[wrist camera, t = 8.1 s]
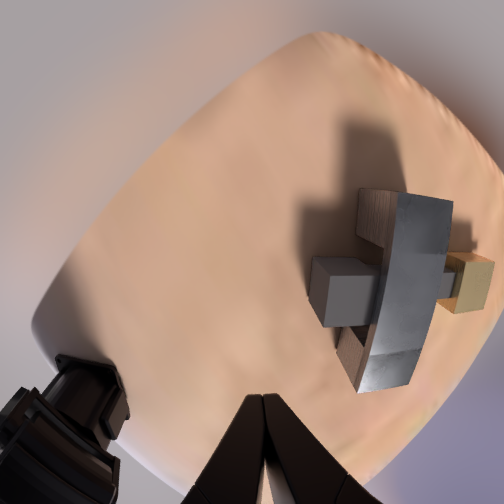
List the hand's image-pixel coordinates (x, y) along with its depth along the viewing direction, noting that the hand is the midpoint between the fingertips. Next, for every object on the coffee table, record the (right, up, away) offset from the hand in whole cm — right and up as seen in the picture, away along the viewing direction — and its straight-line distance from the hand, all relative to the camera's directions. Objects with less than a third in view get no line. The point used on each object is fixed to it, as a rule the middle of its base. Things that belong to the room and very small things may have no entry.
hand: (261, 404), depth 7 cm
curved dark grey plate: (+8, +2, +11) cm, 14 cm away
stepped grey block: (+9, +2, +11) cm, 15 cm away
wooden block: (+17, +2, +12) cm, 20 cm away
